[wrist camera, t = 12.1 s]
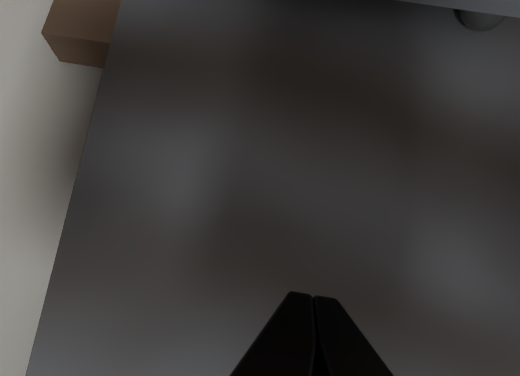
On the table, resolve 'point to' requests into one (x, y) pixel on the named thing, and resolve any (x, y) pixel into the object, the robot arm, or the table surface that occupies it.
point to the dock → (287, 184)
